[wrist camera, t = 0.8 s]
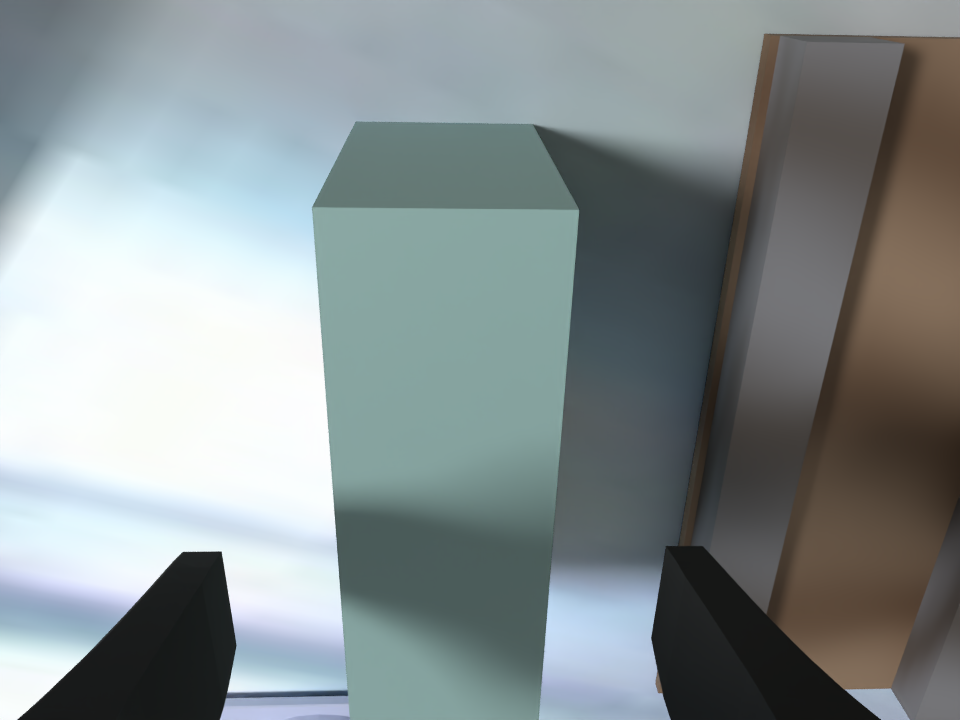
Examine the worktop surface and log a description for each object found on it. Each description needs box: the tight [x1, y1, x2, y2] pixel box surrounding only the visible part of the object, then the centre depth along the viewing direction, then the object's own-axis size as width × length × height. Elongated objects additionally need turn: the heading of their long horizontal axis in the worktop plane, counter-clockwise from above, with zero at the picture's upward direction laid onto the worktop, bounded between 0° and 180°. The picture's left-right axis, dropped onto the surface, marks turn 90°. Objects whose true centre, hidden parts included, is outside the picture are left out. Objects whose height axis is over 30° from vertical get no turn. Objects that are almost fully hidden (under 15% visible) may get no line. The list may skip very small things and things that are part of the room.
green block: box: [312, 122, 579, 720], centre depth 18 cm, size 12×4×7 cm, turn 179°
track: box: [656, 34, 960, 720], centre depth 21 cm, size 20×10×2 cm, turn 179°
